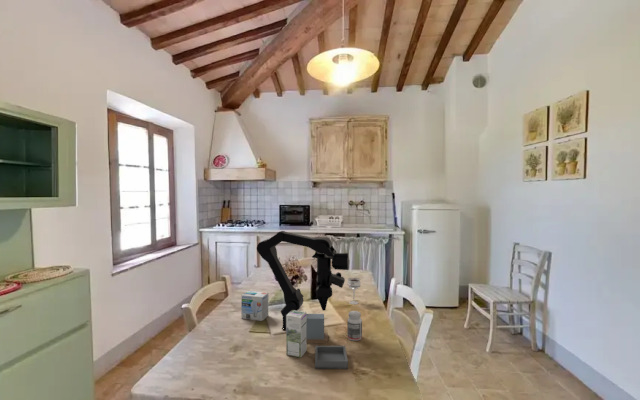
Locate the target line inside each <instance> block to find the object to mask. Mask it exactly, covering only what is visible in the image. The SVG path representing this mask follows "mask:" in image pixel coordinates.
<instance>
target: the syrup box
mask: <svg viewBox="0 0 640 400" xmlns="http://www.w3.org/2000/svg"><path fill="white" fill-rule="evenodd" d="M306 314H307V312H306V311H303V310H298V311H296V310H292V311H290V312H289V313H288V314H287V315H286V330H285V333H286V336H285V338H286V341H285V342H286V350H285V352H286V353H285V354H286V356H289V357H296V358H302V357H303V356H304V354H305V353H306V352H307V350H308V349H307V348H308V347H307V343H306V319H307V317H306Z"/></svg>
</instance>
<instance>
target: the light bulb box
mask: <svg viewBox="0 0 640 400" xmlns="http://www.w3.org/2000/svg"><path fill="white" fill-rule="evenodd" d="M240 306H241V311H240V312H241V316H240V317H241V319H244V320H245V319H246V320H253V321H260V322H262V321H264V320H265V319H266V318H267V317H268V316H269V292H262V291H253V290H247V291H246V292H245V293H243V294H241V305H240Z"/></svg>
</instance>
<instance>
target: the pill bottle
mask: <svg viewBox="0 0 640 400" xmlns="http://www.w3.org/2000/svg"><path fill="white" fill-rule="evenodd" d="M362 319H363V318H361V312H360V311H357V310H352V311H351V310H350V311H348V318H347V322H346V323H347V327H346V328H347V329H346V330H347V331H346V333H347V339H348V340H349V341H353V342H354V341H355V342H356V341H361V340H362V338H363V320H362Z"/></svg>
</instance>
